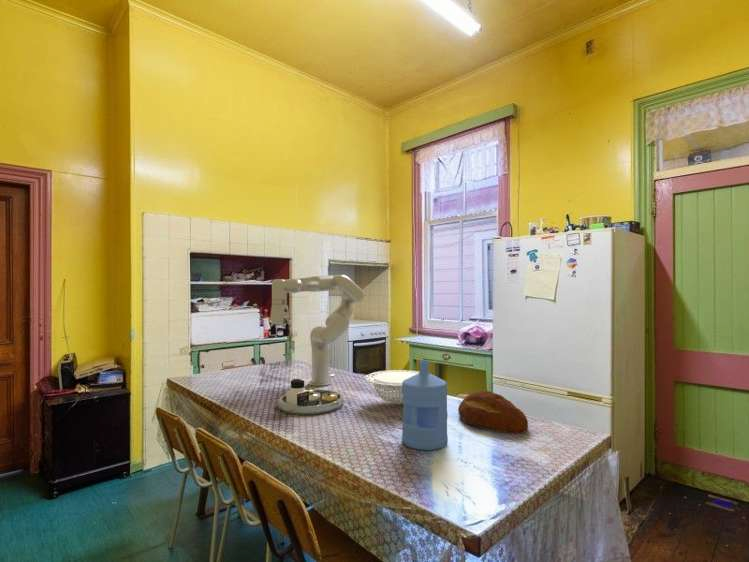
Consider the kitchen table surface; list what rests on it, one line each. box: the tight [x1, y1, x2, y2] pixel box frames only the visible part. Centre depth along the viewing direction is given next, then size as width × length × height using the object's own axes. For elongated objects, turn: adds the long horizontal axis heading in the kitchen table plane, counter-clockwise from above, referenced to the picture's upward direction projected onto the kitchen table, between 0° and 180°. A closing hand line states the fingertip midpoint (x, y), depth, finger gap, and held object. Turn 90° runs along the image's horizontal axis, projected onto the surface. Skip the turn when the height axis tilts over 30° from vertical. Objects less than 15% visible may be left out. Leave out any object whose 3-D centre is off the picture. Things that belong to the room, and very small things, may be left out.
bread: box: [458, 390, 529, 434], centre depth 164 cm, size 21×33×12 cm, turn 29°
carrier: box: [278, 387, 344, 416], centre depth 189 cm, size 29×29×6 cm
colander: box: [363, 369, 420, 406], centre depth 189 cm, size 32×32×13 cm
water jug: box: [401, 360, 449, 451], centre depth 144 cm, size 16×16×28 cm
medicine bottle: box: [285, 378, 309, 406], centre depth 183 cm, size 7×7×12 cm
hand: (279, 335), depth 218 cm, fingers open, 9 cm apart
